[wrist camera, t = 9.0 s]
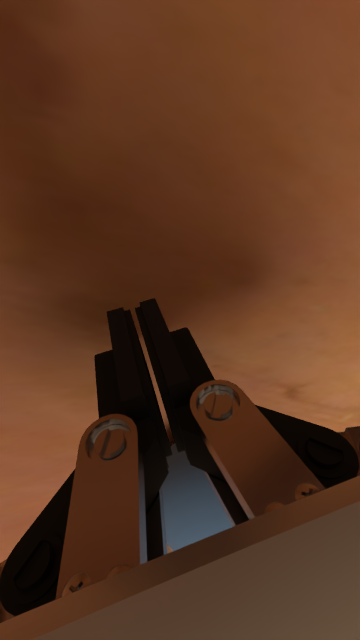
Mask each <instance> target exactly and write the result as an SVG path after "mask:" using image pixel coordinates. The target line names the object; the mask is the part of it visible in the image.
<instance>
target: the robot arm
mask: <svg viewBox="0 0 360 640" xmlns="http://www.w3.org/2000/svg"><path fill="white" fill-rule="evenodd" d="M135 311H136V314H137V318H138V321H139V324H140V328H141V331H142V334H143V338H144V341H145V344H146V348H147V351H148V354H149V358H150V361H151V364H152V368H153V371H154V374H155V378H156V381H157V384H158V388H159V391H160V394H161V398H162V401H163V404H164V408H165V411H166V414H167V418H168V421H169V424H170V427H171V431H172V434H173V437H174V441H175V444H176V447H177V451H178V453H179V452H182V451H184V450H185V453H186V456H187V459H188V461H189V463H190V465H192V466H194V467H196V468H198V469H201V470H203V471H204V473H205V476H206V478H207V479H208V481H209V483H210V485H211V487H212V489H213V491H214V493H215V494H216V496H217V498H218V500H219V502H220V504H221V506H222V508H223V509H224V511H225V513H226V515H227V517H228V519H229V521H230V522H231V524H232V526H233V527H231V528H229V529H226V530H224V531H222V532H219V533H217V534H214V535H212V536H209V537H207V538H204V539H202V540H200V541H197V542H195V543H192V544H190V545H187V546H185V547H182V548H180V549H178V550H175V551H173V552H170V553H168V554H167V542H166V529H165V517H164V505H163V492H162V488H161V486H162V484H163V482H164V481H165V479H166V477H167V475H168V473H169V471H168V468H169V466H168V462H167V458H166V457H168V456H171V455H173V454H172V451H171V447H170V443H169V440H168V436H167V433H166V429H165V426H164V422H163V419H162V415H161V412H160V408H159V405H158V401H157V398H156V394H155V391H154V387H153V384H152V380H151V377H150V373H149V370H148V366H147V363H146V360H145V357H144V354H143V350H142V347H141V344H140V341H139V337H138V334H137V331H136V328H135V325H134V321H133V318H132V315H131V312H130V310H126V311H124V310H123V307H122V308H118V309H115V310H111V311H108V312H107V317H108V323H109V330H110V336H111V342H112V349H113V350H110V351H106V352H103V353H100V354H97V355H95V371H96V385H97V398H98V411H99V419H98V420H96V421H95V422H93V423H92V424H91V425H90V426H89V427H88V428H87V429H86V431H85V432H84V434H83V435H82V437H81V440H80V444H79V448H78V455H77V461H76V468H75V470H74V471H73V472H72V474H71V475H70V476H69V477H68V479H67V480H66V481H65V483H64V484H63V485H62V486H61V488H60V489H59V490H58V492H57V493H56V494H55V496H54V497H53V498H52V499H51V501H50V502H49V503H48V505H47V506H46V507H45V508H44V510H43V511H42V512H41V514H40V515H39V516H38V517H37V519H36V520H35V521H34V523H33V524H32V525H31V527H30V528H29V529H28V530H27V532H26V533H25V534H24V536H23V537H22V538H21V539H20V541H19V542H18V543H17V545H16V546H15V547H14V549H13V550H12V552H11V554H10V555H9V557H8V558H7V559H6V560H5V561H3V562H2V563H0V640H360V426H357V427H348V428H346V430H345V432H335V431H333V430H331V429H328V428H325V427H322V426H319V425H316V424H313V423H310V422H307V421H304V420H301V419H298V418H294V417H291V416H288V415H285V414H282V413H279V412H276V411H273V410H270V409H266V408H263V407H260V406H257V405H254V404H253V402H252V401H251V400H250V399H249V398H248V397H247V395H246V394H245V393H244V392H243V391H242V389H240V388H239V387H238V386H237V385H236V384H234V383H231V382H229V381H225V380H215V379H214V377H213V375H212V373H211V372H210V370H209V368H208V366H207V364H206V362H205V360H204V358H203V356H202V354H201V352H200V351H199V349H198V347H197V345H196V343H195V341H194V339H193V337H192V335H191V333H190V331H189V330H188V328H187V327H185V328H182V329H179V330H176V331H172V332H169V330H168V328H167V325H166V323H165V321H164V318H163V316H162V314H161V311H160V309H159V307H158V304H157V302H156V300H155V298H153V299H150V300H146V301H143V302H140V307H137V308H135Z"/></svg>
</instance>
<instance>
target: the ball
mask: <svg viewBox="0 0 360 640" xmlns="http://www.w3.org/2000/svg"><path fill="white" fill-rule="evenodd" d="M171 451H172V454H173V455H171V456H168V457H166V458H167V462H168V466H169V468H168V471H169V473H168V475H167V477H166V479H165V481H164V482H163V484H162V486H161V488H162V492H163V505H164V517H165V529H166V542H167V545H168V546H169V547H170V548H171V549H172V550H173V551H175V550H178V549H180V548H182V547H185V546H187V545H190V544H192V543H195V542H197V541H200V540H202V539H204V538H207V537H209V536H212V535H214V534H217V533H219V532H222V531H224V530H226V529H229V528H231V527H233V526H232V524H231V522H230V521H229V519H228V517H227V515H226V513H225V511H224V509H223V508H222V506H221V504H220V502H219V500H218V498H217V496H216V494H215V493H214V491H213V489H212V487H211V485H210V483H209V481H208V479H207V478H206V476H205V473H204V471H203V470H201V469H198V468H196V467H194V466H192V465H190V463H189V461H188V459H187V456H186V453H185V450H184V451H182V452H179V453H178V451H177V447H176V444H175V443H174V444H173V445H172V446H171Z"/></svg>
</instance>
